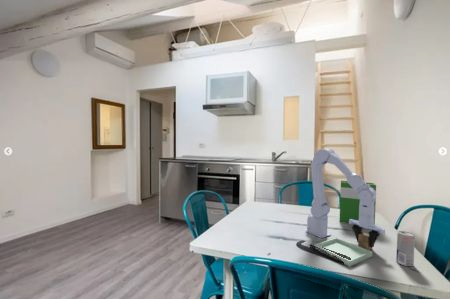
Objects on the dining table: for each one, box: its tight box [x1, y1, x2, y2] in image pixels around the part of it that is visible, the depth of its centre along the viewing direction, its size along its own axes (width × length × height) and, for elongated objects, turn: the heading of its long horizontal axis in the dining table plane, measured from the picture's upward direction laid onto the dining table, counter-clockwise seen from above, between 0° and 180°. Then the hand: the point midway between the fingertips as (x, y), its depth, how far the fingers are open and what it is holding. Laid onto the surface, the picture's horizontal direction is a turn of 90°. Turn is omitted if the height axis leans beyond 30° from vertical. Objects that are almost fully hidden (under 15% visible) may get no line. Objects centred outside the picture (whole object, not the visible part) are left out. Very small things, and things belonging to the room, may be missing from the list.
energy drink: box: [396, 230, 416, 267], centre depth 89 cm, size 5×5×12 cm
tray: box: [313, 237, 373, 268], centre depth 97 cm, size 16×16×2 cm
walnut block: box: [357, 232, 373, 251], centre depth 102 cm, size 4×4×6 cm
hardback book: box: [339, 180, 377, 225], centre depth 135 cm, size 18×7×24 cm, turn 63°
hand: (365, 244), depth 102 cm, fingers open, 5 cm apart
